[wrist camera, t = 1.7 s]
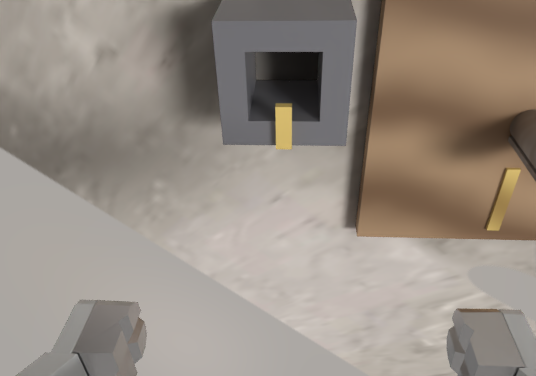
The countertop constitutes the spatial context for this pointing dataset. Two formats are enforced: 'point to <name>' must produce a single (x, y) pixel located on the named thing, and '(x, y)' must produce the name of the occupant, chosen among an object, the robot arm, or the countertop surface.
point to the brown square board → (452, 122)
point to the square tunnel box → (284, 91)
